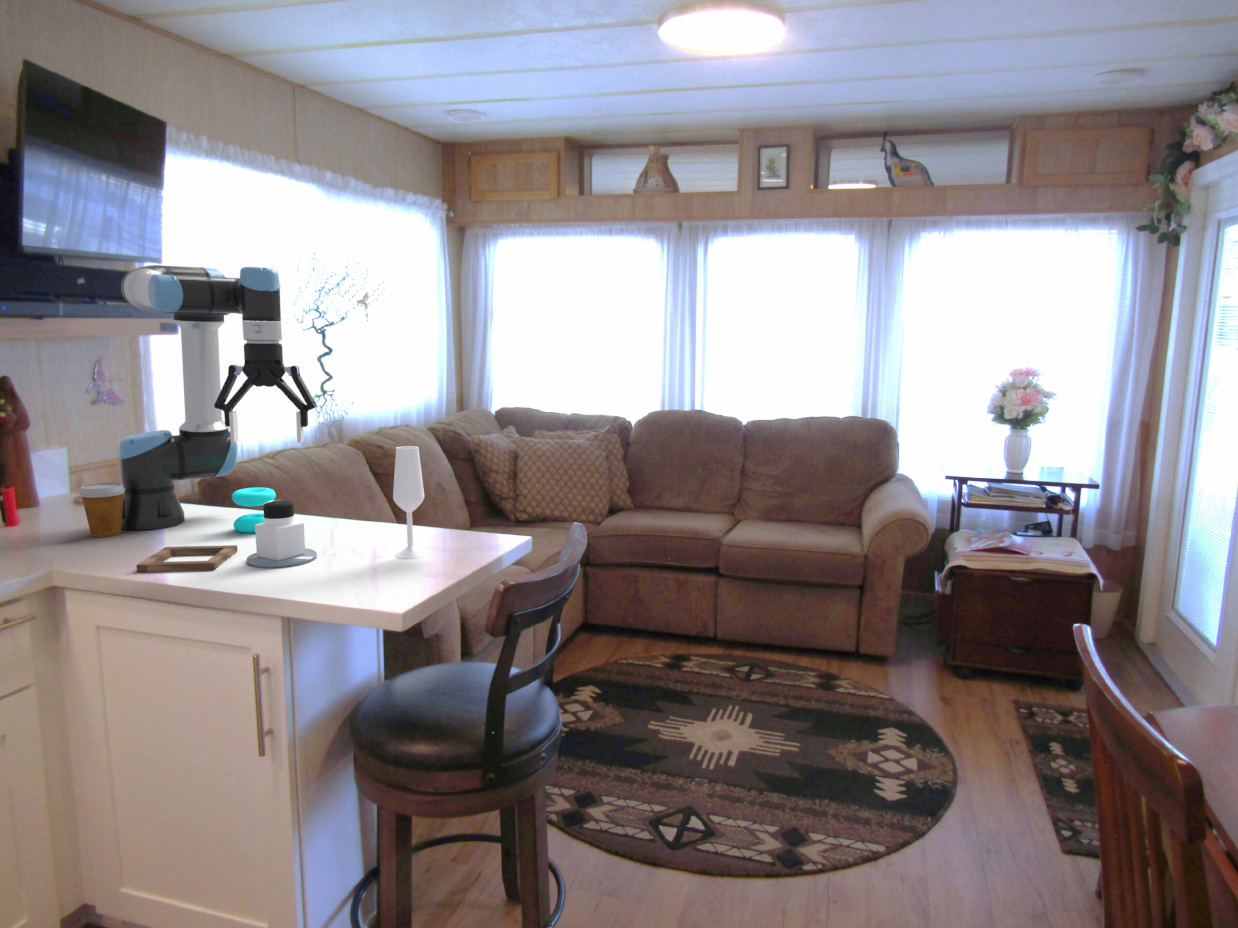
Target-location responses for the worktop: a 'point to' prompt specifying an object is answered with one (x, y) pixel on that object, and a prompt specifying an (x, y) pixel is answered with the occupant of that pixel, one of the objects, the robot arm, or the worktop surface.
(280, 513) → the medicine bottle
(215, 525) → the worktop surface
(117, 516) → the disposable coffee cup
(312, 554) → the slate plate
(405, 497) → the champagne flute
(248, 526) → the donuts
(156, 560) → the wooden picture frame
